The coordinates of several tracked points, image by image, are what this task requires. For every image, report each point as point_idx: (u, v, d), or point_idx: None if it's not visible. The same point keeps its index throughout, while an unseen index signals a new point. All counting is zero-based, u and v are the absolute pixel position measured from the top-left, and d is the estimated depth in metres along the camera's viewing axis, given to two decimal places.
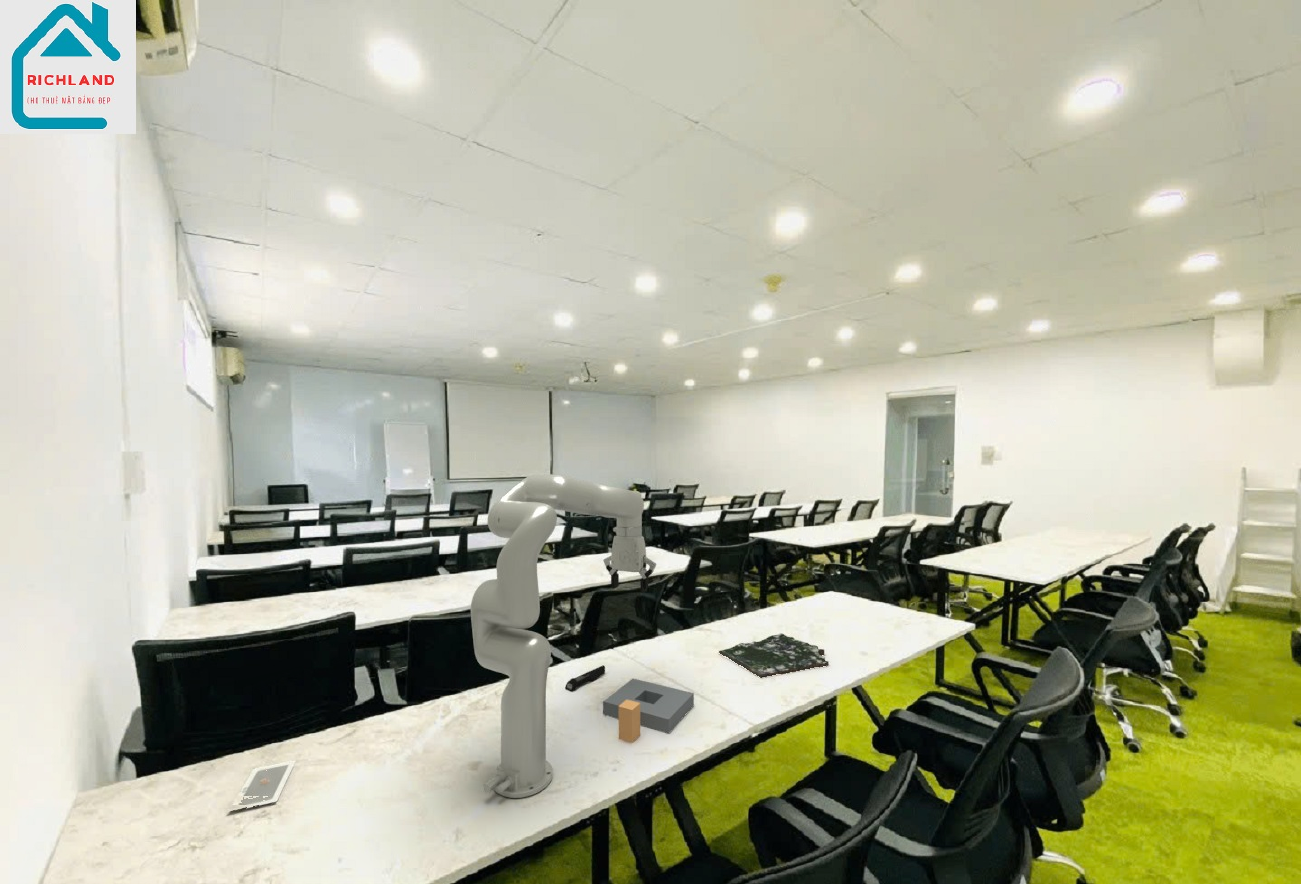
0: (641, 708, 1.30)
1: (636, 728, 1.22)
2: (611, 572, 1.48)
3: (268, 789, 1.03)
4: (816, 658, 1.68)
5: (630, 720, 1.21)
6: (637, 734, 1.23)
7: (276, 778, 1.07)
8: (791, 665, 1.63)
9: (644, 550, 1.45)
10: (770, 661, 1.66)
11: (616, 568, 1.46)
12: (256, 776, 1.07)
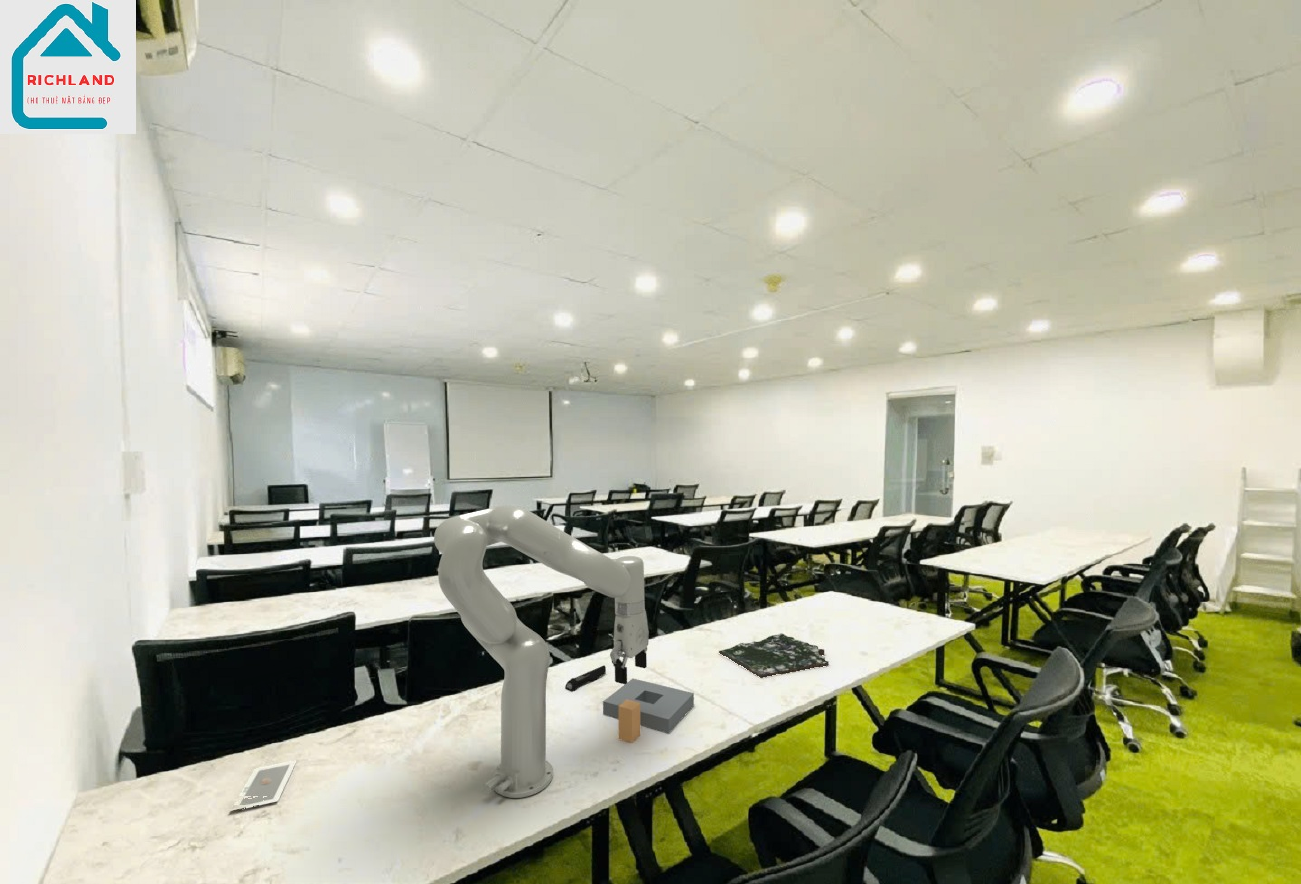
0: (641, 708, 1.30)
1: (636, 728, 1.22)
2: (624, 664, 1.19)
3: (269, 789, 1.03)
4: (816, 658, 1.68)
5: (630, 720, 1.21)
6: (637, 734, 1.23)
7: (278, 777, 1.07)
8: (791, 665, 1.63)
9: None
10: (770, 661, 1.66)
11: (634, 654, 1.20)
12: (257, 775, 1.07)
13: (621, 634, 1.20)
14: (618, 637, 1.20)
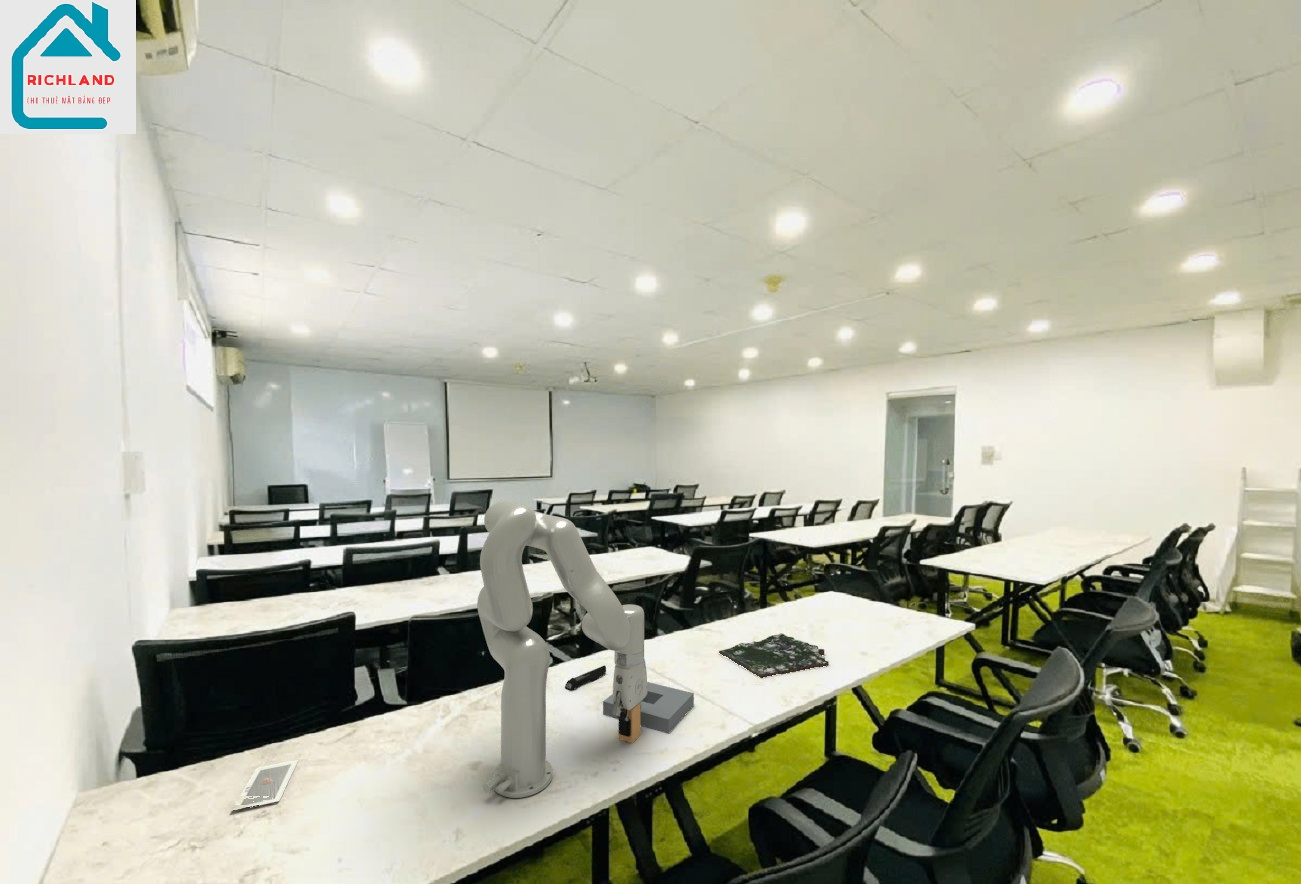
0: (641, 708, 1.30)
1: (636, 728, 1.22)
2: (627, 717, 1.20)
3: (270, 789, 1.03)
4: (816, 658, 1.68)
5: None
6: (637, 734, 1.23)
7: (279, 777, 1.07)
8: (791, 665, 1.63)
9: None
10: (770, 660, 1.66)
11: (633, 706, 1.20)
12: (259, 775, 1.07)
13: (620, 686, 1.19)
14: (617, 688, 1.19)
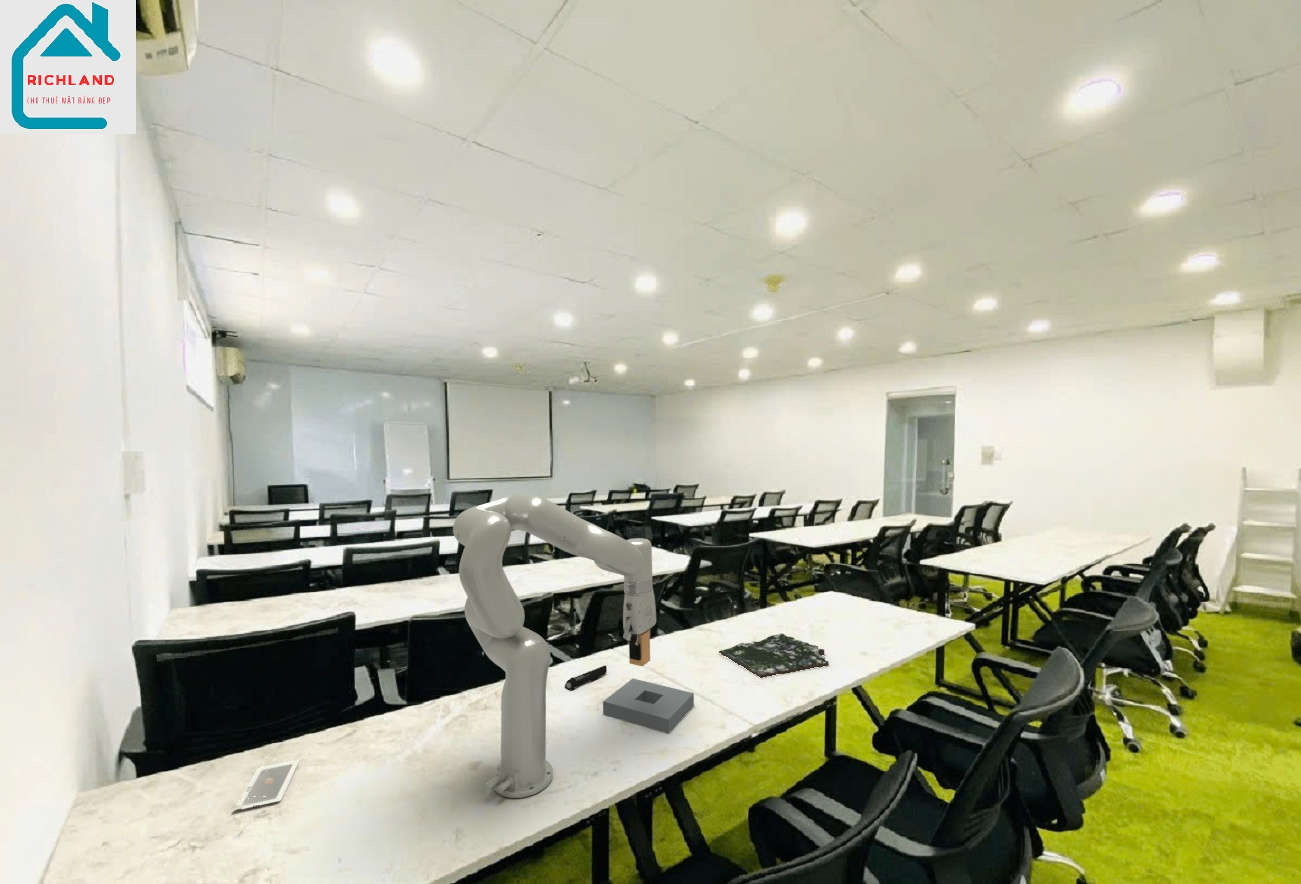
0: (641, 708, 1.30)
1: (646, 653, 1.29)
2: (637, 642, 1.26)
3: (272, 788, 1.03)
4: (816, 658, 1.68)
5: None
6: (647, 659, 1.29)
7: (280, 777, 1.07)
8: (791, 665, 1.63)
9: None
10: (770, 661, 1.66)
11: (642, 631, 1.26)
12: (260, 775, 1.08)
13: (630, 612, 1.25)
14: (627, 614, 1.26)
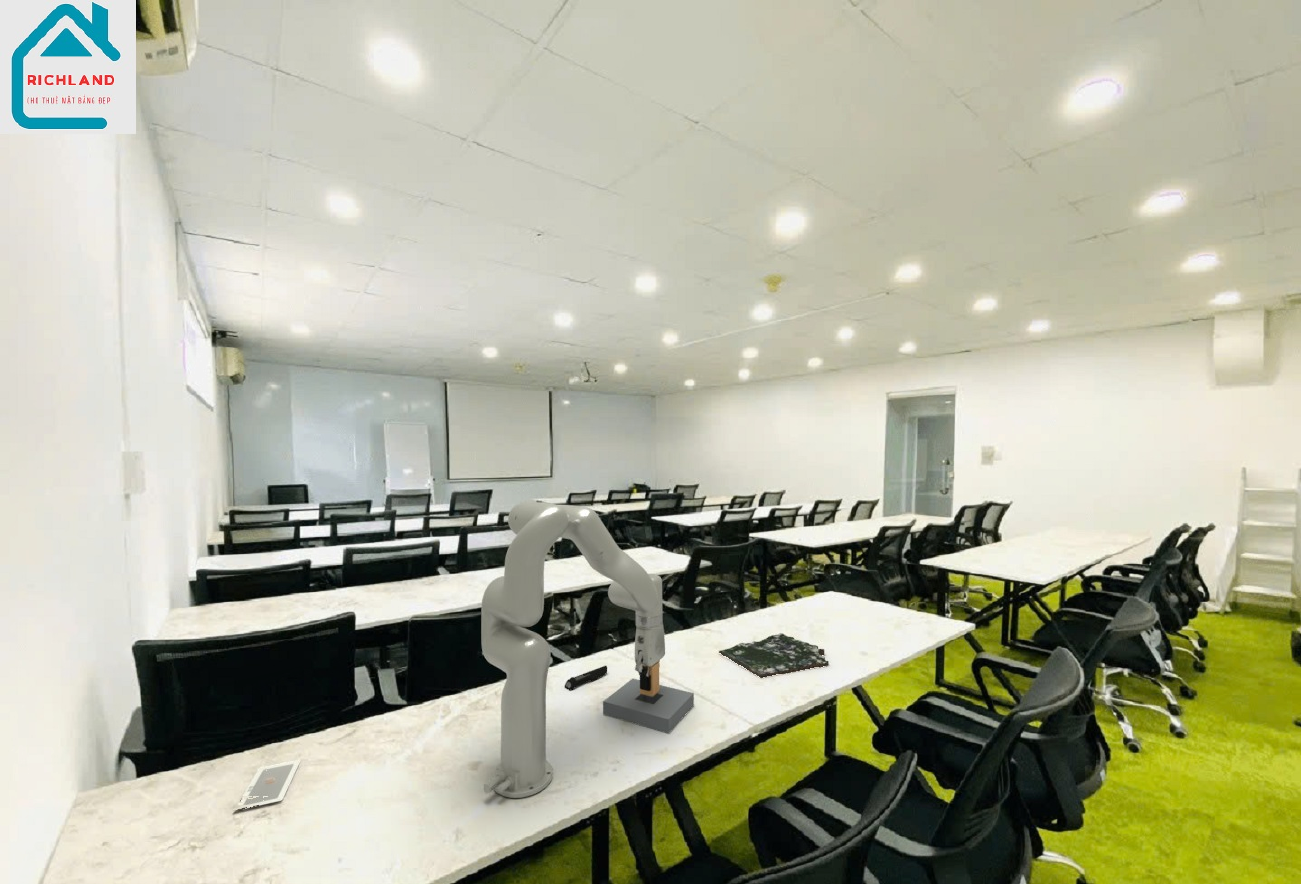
0: (641, 708, 1.30)
1: (656, 684, 1.36)
2: (648, 673, 1.34)
3: (273, 788, 1.03)
4: (816, 657, 1.68)
5: (651, 676, 1.34)
6: (657, 689, 1.36)
7: (282, 777, 1.07)
8: (791, 665, 1.63)
9: None
10: (770, 660, 1.66)
11: (653, 663, 1.33)
12: (262, 775, 1.08)
13: (641, 645, 1.32)
14: (639, 647, 1.33)
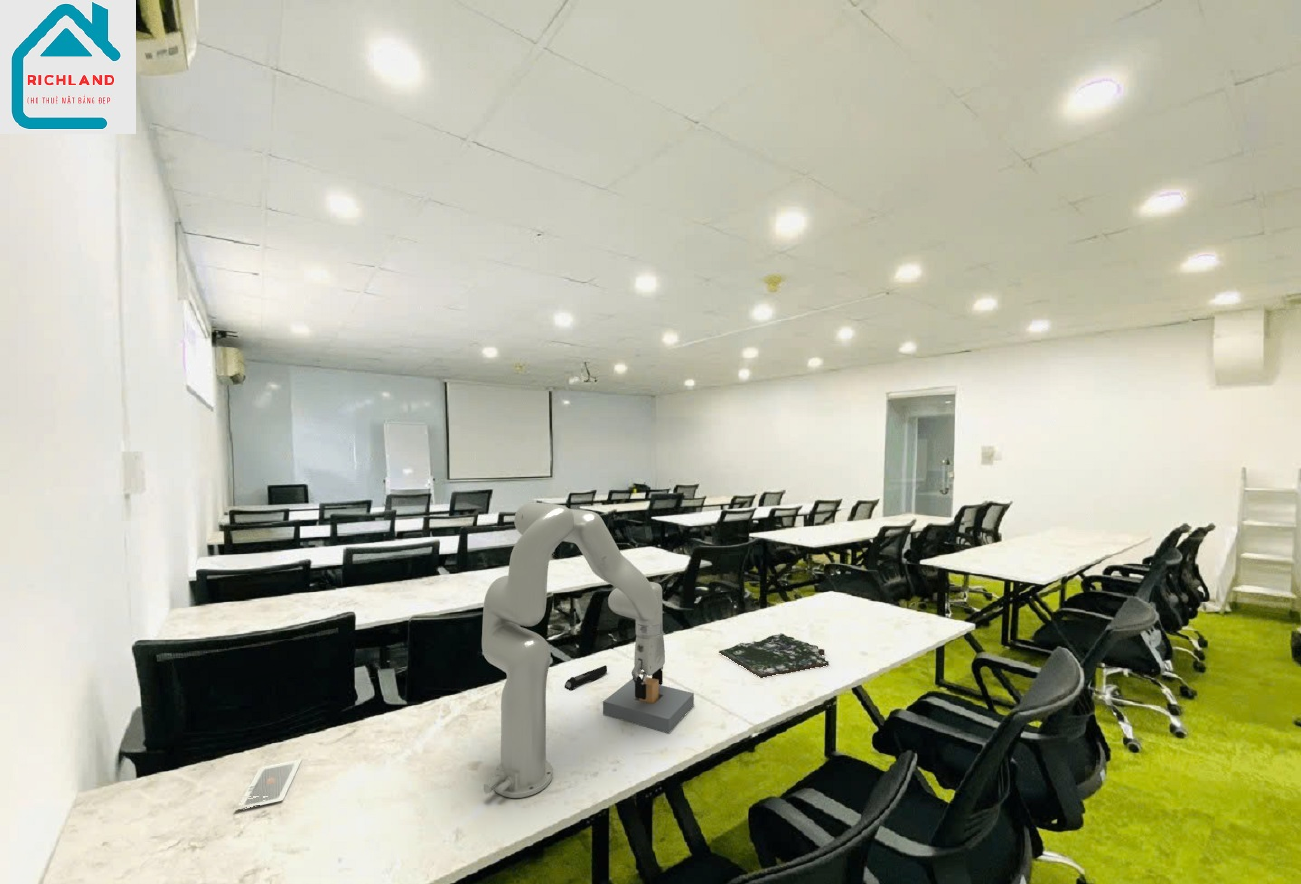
0: (641, 708, 1.30)
1: (655, 702, 1.35)
2: (643, 681, 1.31)
3: (274, 788, 1.03)
4: (816, 658, 1.68)
5: (651, 694, 1.34)
6: None
7: (283, 776, 1.07)
8: (791, 665, 1.63)
9: None
10: (770, 660, 1.66)
11: (652, 672, 1.33)
12: (263, 774, 1.08)
13: (641, 654, 1.32)
14: (638, 656, 1.33)
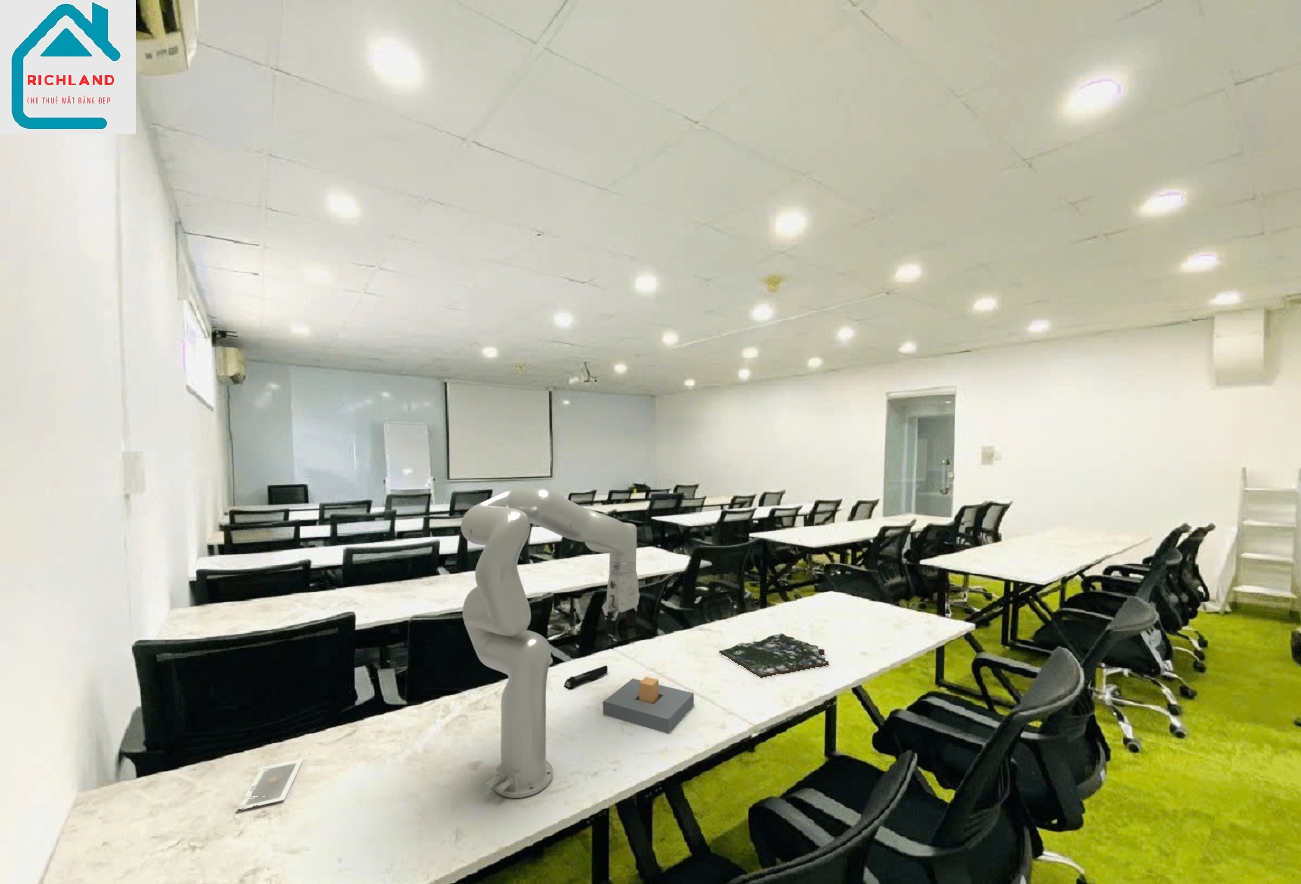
0: (641, 708, 1.30)
1: (655, 702, 1.35)
2: (614, 617, 1.32)
3: (276, 788, 1.03)
4: (816, 658, 1.68)
5: (651, 694, 1.34)
6: None
7: (284, 776, 1.07)
8: (791, 665, 1.63)
9: None
10: (770, 660, 1.66)
11: (624, 609, 1.33)
12: (264, 774, 1.08)
13: (613, 590, 1.33)
14: (610, 592, 1.33)
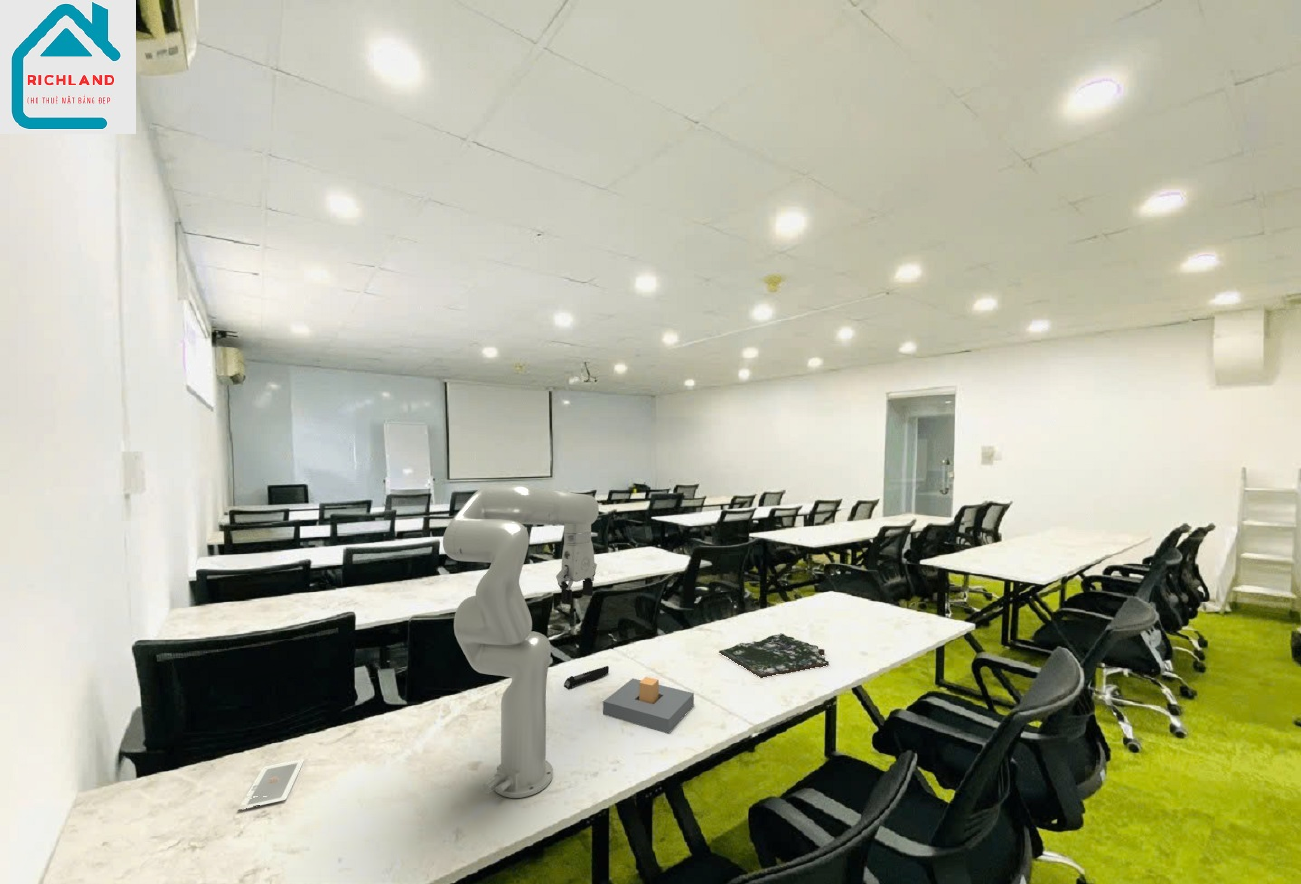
0: (641, 708, 1.30)
1: (655, 702, 1.35)
2: (569, 587, 1.33)
3: (277, 787, 1.03)
4: (816, 658, 1.68)
5: (651, 694, 1.34)
6: None
7: (286, 776, 1.07)
8: (791, 665, 1.63)
9: None
10: (770, 660, 1.66)
11: (579, 579, 1.34)
12: (266, 774, 1.08)
13: (567, 560, 1.34)
14: (565, 562, 1.34)
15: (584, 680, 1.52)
